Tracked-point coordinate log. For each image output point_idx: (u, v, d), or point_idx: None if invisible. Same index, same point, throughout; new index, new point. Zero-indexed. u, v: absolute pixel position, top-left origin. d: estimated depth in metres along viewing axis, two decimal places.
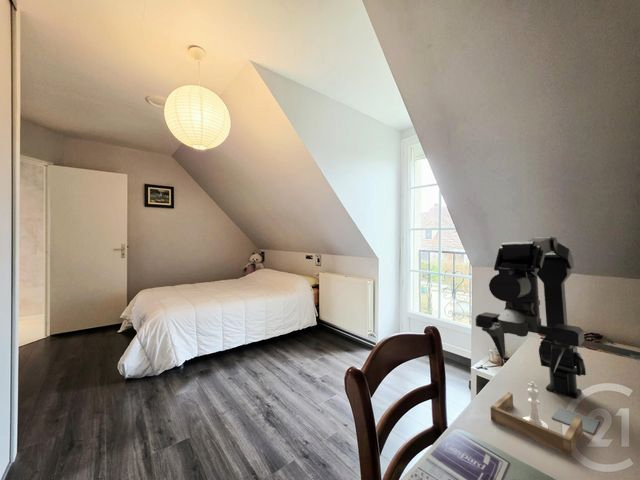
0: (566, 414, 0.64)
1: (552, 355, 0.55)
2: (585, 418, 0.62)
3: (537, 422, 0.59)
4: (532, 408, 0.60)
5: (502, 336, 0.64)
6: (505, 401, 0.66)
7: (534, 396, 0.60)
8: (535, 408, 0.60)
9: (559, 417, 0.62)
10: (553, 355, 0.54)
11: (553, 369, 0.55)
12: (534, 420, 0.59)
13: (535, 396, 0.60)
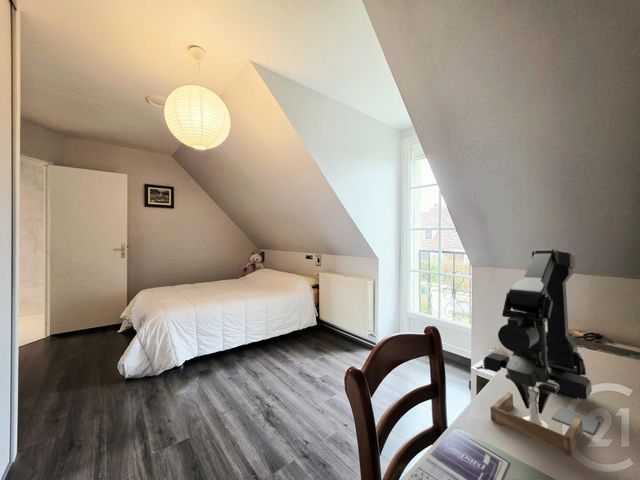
0: (566, 414, 0.64)
1: (540, 397, 0.58)
2: (585, 418, 0.62)
3: (537, 422, 0.59)
4: (532, 408, 0.60)
5: None
6: (505, 401, 0.66)
7: (534, 396, 0.60)
8: (535, 408, 0.60)
9: (559, 417, 0.62)
10: (540, 397, 0.58)
11: (541, 410, 0.59)
12: (534, 420, 0.59)
13: (535, 396, 0.60)
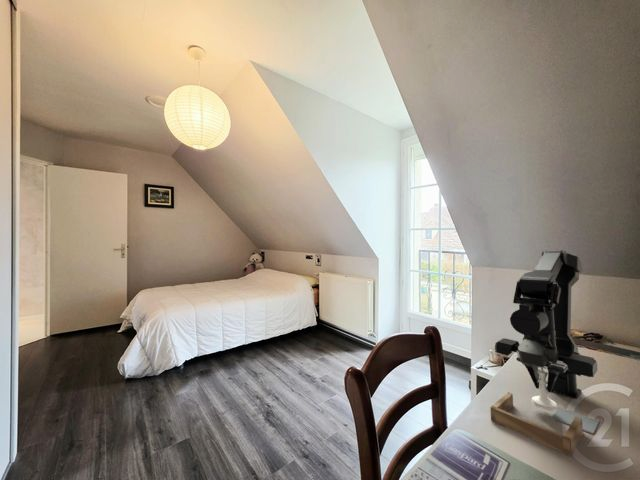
0: (566, 414, 0.64)
1: (549, 377, 0.63)
2: (585, 418, 0.62)
3: (546, 400, 0.64)
4: (541, 387, 0.65)
5: (536, 366, 0.67)
6: (505, 401, 0.66)
7: (543, 376, 0.64)
8: (544, 387, 0.64)
9: (559, 417, 0.62)
10: (549, 377, 0.63)
11: (550, 389, 0.63)
12: (543, 398, 0.64)
13: (544, 376, 0.64)
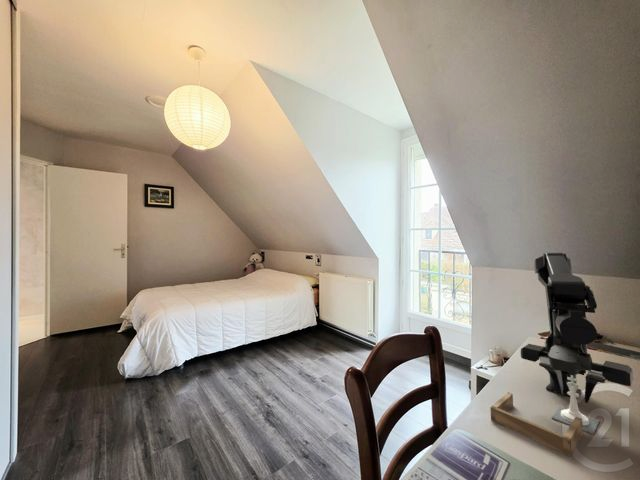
0: None
1: (586, 387, 0.60)
2: None
3: (577, 414, 0.61)
4: (572, 401, 0.62)
5: (559, 372, 0.65)
6: (505, 401, 0.66)
7: (574, 389, 0.62)
8: (575, 401, 0.62)
9: (559, 417, 0.62)
10: (587, 387, 0.59)
11: (587, 400, 0.60)
12: (574, 412, 0.61)
13: (575, 389, 0.62)
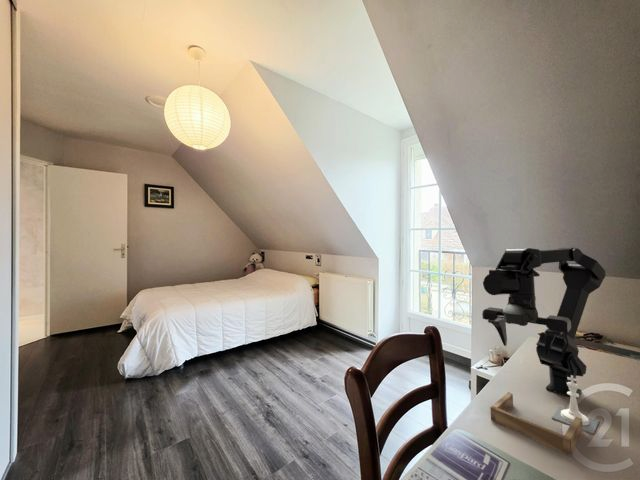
0: None
1: (546, 340, 0.68)
2: None
3: (577, 414, 0.61)
4: (572, 401, 0.62)
5: (504, 327, 0.77)
6: (505, 401, 0.66)
7: (574, 389, 0.62)
8: (575, 401, 0.62)
9: (559, 417, 0.62)
10: (547, 340, 0.67)
11: (547, 352, 0.68)
12: (574, 412, 0.61)
13: (575, 389, 0.62)
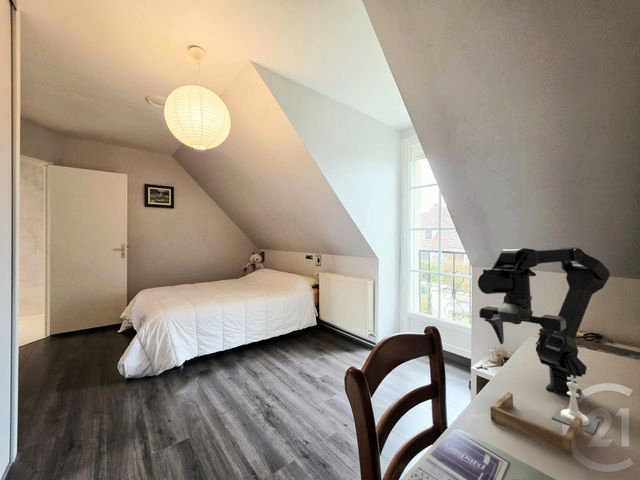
0: None
1: (541, 339, 0.69)
2: None
3: (577, 414, 0.61)
4: (572, 401, 0.62)
5: (501, 325, 0.78)
6: (505, 401, 0.66)
7: (574, 389, 0.62)
8: (575, 401, 0.62)
9: (559, 417, 0.62)
10: (541, 339, 0.68)
11: (541, 350, 0.69)
12: (574, 412, 0.61)
13: (575, 389, 0.62)
